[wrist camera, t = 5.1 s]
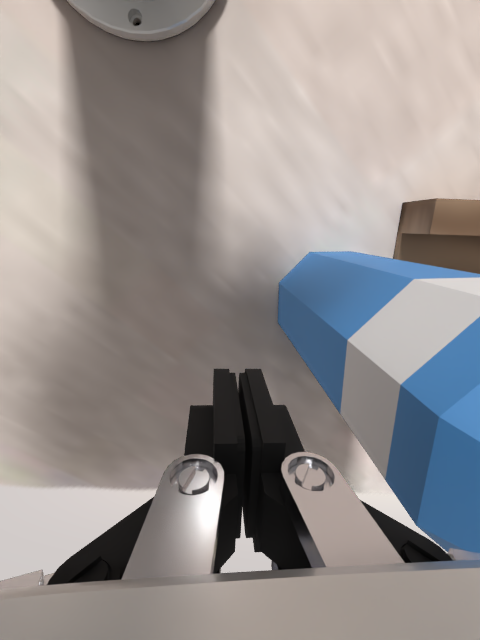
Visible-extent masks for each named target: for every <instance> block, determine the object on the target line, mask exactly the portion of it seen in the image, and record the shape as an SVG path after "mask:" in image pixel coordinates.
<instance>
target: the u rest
mask: <svg viewBox="0 0 480 640" xmlns="http://www.w3.org/2000/svg"><path fill="white" fill-rule="evenodd" d="M393 259H396V260H402V261H408V262H413V263H419V264H425V265H431V266H436V267H442V268H448V269H453V270H459V271H465V272H470V273H476V274H480V200H461V199H438V198H436V199H429V200H421V201H413V202H405V203H403V205H402V211H401V217H400V223H399V228H398V234H397V240H396V246H395V252H394V257H393Z"/></svg>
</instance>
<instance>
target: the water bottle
mask: <svg viewBox="0 0 480 640" xmlns="http://www.w3.org/2000/svg"><path fill="white" fill-rule="evenodd" d="M278 323H279V325H280V326H281V328H282V329H283V331H284V332H285V334H286V335H287V337H288V338H289V340H290V341H291V342H292V344H293V345H294V347H295V348H296V350H297V351H298V353H299V354H300V356H301V357H302V359H303V360H304V362H305V363H306V364H307V366H308V367H309V369H310V370H311V372H312V373H313V375H314V376H315V378H316V379H317V381H318V382H319V383H320V385H321V386H322V388H323V389H324V391H325V392H326V394H327V395H328V397H329V398H330V400H331V401H332V403H333V404H334V405H335V407H336V408H337V410H338V411H339V413H340V414H341V416H342V417H343V419H344V420H345V422H346V423H347V425H348V426H349V427H350V429H351V430H352V432H353V433H354V435H355V436H356V438H357V439H358V441H359V442H360V444H361V445H362V447H363V448H364V449H365V451H366V452H367V454H368V455H369V457H370V458H371V460H372V461H373V463H374V464H375V466H376V467H377V468H378V470H379V471H380V473H381V474H382V476H383V477H384V479H385V480H386V482H387V483H388V485H389V486H390V488H391V489H392V490H393V492H394V493H395V495H396V496H397V498H398V499H399V501H400V502H401V504H402V505H403V507H404V508H405V510H406V511H407V512H408V514H409V515H410V517H411V518H412V520H413V521H414V523H415V524H416V526H418V527H419V528H420V529H421V530H422V531H424V532H425V533H426V534H427V535H428V536H429V537H430V538H432V539H433V540H434V541H435V542H436V543H438V544H439V545H440V546H441V547H442V548H443V549H445V550H446V551H447V552H448V551H449V548H453V549H459V550H464V551H470V552H475V553H480V274H476V273H470V272H465V271H459V270H453V269H448V268H442V267H436V266H431V265H425V264H419V263H413V262H408V261H402V260H396V259H391V258H385V257H379V256H373V255H368V254H362V253H356V252H309V253H308V254H307V255H306V256H305V257H304V258H303V259H302V260H301V261H300V262H299V263H298V264H297V265H296V266H295V267H294V268H293V269H292V270H291V271H290V272H289V273H288V274H287V275H286V276H285V277H284V278H283V279H282V280H281V281H280V282H279V301H278Z"/></svg>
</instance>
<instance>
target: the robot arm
mask: <svg viewBox="0 0 480 640" xmlns="http://www.w3.org/2000/svg"><path fill="white" fill-rule="evenodd" d="M67 1H68V3H69V4H70V5H71V6H72V7H73V8H74V9H75V10H76V11H78V12H79V13H80V14H81V15H82V16H83V17H85V18H86V19H87V20H88V21H89V22H91V23H93V24H94V25H96V26H98V27H99V28H101V29H103V30H104V31H106V32H108V33H111V34H114V35H116V36H119V37H122V38H125V39H130V40H138V41H154V40H163V39H166V38H169V37H172V36H175V35H178V34H180V33H182V32H183V31H185V30H186V29H188V28H190V27H191V26H193V25H194V24H196V23H197V22H198V21H199V20H200V19H201V18H202V17H203V16H204V15H205V14H206V13H207V12H208V11H209V9H210V8H211V6H212V5H213V3H214V2H215V0H67ZM137 22H140V23H141V24H140V25H138V26H135V24H136V23H137ZM242 508H243V517H244V526H245V535H246V538H253V543H254V550H255V552H262V553H264V554H265V555H266V556H267V557H269V558H270V559H271V560H272V565H271V566H272V570H271V571H253V572H237V573H220V571H221V567H222V566H223V565H224V563H225V562H226V561H227V560H228V559H229V558H230V556H231V555H232V554H233V553H234V552H235V539H236V538H240V533H241V517H242ZM0 640H480V553H475V552H470V551H464V550H459V549H453V548H449V551H448V553H446V552H445V551H443V550H442V549H441V548H440V547H439V546H438V545H436V544H435V543H433V542H432V541H430V540H429V539H427V538H425V537H424V536H422V535H420V534H418V533H417V532H415V531H413V530H411V529H410V528H408V527H406V526H404V525H403V524H401V523H399V522H398V521H396V520H394V519H392V518H390V517H389V516H387V515H385V514H384V513H382V512H380V511H378V510H376V509H375V508H373V507H371V506H370V505H368V504H366V503H364V502H363V501H361V500H359V498H358V497H357V495H356V494H355V493H354V491H353V490H352V488H351V487H350V486H349V484H348V483H347V481H346V480H345V479H344V477H343V476H342V474H341V473H340V472H339V470H338V469H337V468H336V467H335V465H334V464H333V463H332V462H330V461H329V460H327V459H326V458H324V457H322V456H320V455H318V454H315V453H310V452H305V451H304V449H303V446H302V444H301V442H300V439H299V437H298V434H297V432H296V429H295V427H294V425H293V422H292V420H291V417H290V415H289V412H288V410H287V408H286V406H285V405H273V403H272V400H271V397H270V394H269V391H268V389H267V386H266V383H265V380H264V377H263V374H262V371H261V369H245V373H239V387H238V389H237V382H236V376H235V373H230V372H229V369H214V382H213V405H202V406H190V414H189V422H188V429H187V437H186V445H185V453H184V456H182V457H180V458H178V459H176V460H174V461H173V462H172V463H171V464H170V465H169V466H168V467H167V469H166V470H165V472H164V474H163V476H162V479H161V481H160V484H159V486H158V489H157V491H156V494H155V496H154V497H153V498H152V499H150V500H149V501H148V502H146V503H145V504H143V505H142V506H141V507H139V508H138V509H136V510H135V511H134V512H132V513H131V514H130V515H128V516H127V517H125V518H124V519H123V520H121V521H120V522H118V523H117V524H116V525H114V526H113V527H112V528H110V529H109V530H107V531H106V532H105V533H103V534H102V535H101V536H99V537H98V538H96V539H95V540H94V541H92V542H91V543H89V544H88V545H87V546H85V547H84V548H83V549H81V550H80V551H79V552H77V553H76V554H74V555H73V556H71V557H70V558H69V559H68V560H67V561H66V562H64V563H63V564H62V565H61V566H60V567H59V568H58V569H57V571H56V572H55V573H52V574H48V575H45V576H43V570H39V571H36V572H32V573H28V574H24V575H21V576H17V577H13V578H10V579H6V580H2V581H0Z"/></svg>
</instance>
